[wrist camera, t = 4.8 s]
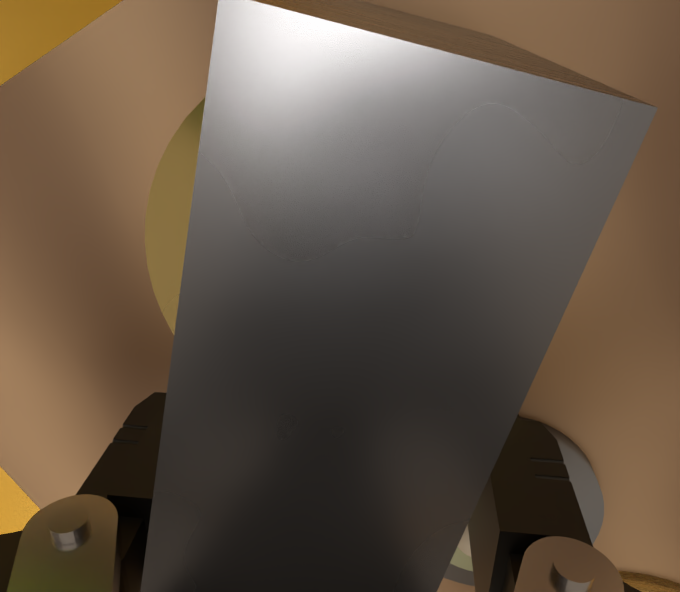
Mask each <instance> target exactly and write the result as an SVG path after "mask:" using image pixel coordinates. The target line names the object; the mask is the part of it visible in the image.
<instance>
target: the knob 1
mask: <svg viewBox="0 0 680 592" xmlns="http://www.w3.org/2000/svg"><path fill="white" fill-rule="evenodd" d="M657 109H658V107H655V106H653V105H651V104H649V103H646V102H644V101H642V100H639V99H637V98H635V97H632V96H630V95H628V94H626V93H623V92H621V91H619V90H616V89H614V88H612V87H610V86H607V85H605V84H603V83H600V82H598V81H596V80H593V79H591V78H589V77H587V76H584V75H582V74H580V73H577V72H575V71H573V70H570V69H568V68H566V67H564V66H561V65H559V64H557V63H554V62H552V61H550V60H548V59H545V58H543V57H541V56H538V55H536V54H534V53H531V52H529V51H527V50H525V49H522V48H520V47H518V46H515V45H513V44H511V43H508V42H506V41H504V40H502V39H499V38H497V37H495V36H492V35H489V34H485V33H481V32H478V31H474V30H470V29H466V28H463V27H459V26H455V25H451V24H447V23H444V22H440V21H436V20H432V19H429V18H425V17H421V16H417V15H413V14H410V13H406V12H402V11H398V10H395V9H391V8H387V7H383V6H379V5H376V4H372V3H368V2H364V1H361V0H218V6H217V14H216V21H215V29H214V36H213V44H212V52H211V59H210V67H209V74H208V82H207V89H206V97H205V98H204V99H203V100H202V101H201V102H200V103H199V104H198V105H197V106H196V107H195V108H194V109H193V111H192V112H191V113H190V114H189V115H188V116H187V117H186V118H185V120H184V121H183V122H182V124H181V125H180V127H179V128H178V130H177V131H176V133H175V134H174V136H173V137H172V138H171V140H170V142H169V144H168V146H167V148H166V150H165V152H164V154H163V156H162V158H161V160H160V162H159V164H158V167H157V170H156V173H155V176H154V179H153V182H152V185H151V188H150V192H149V198H148V204H147V210H146V216H145V248H146V258H147V267H148V271H149V275H150V279H151V283H152V287H153V291H154V294H155V296H156V299H157V301H158V304H159V306H160V309H161V312H162V314H163V316H164V318H165V320H166V321H167V323H168V325H169V327H170V329H171V331H172V333H173V335H174V340H173V348H172V355H171V363H170V370H169V378H168V385H167V393H166V401H165V408H164V416H163V423H162V431H161V439H160V446H159V454H158V461H157V469H156V477H155V484H154V492H153V499H152V507H151V514H150V522H149V530H148V537H147V545H146V552H145V560H144V568H143V575H142V583H141V590H140V592H437V590H438V588H439V586H440V584H441V581H442V579H443V577H444V575H445V573H446V570H447V568H448V566H449V564H450V562H451V560H452V557H453V555H454V553H455V551H456V549H457V546H458V544H459V542H460V540H461V538H462V535H463V533H464V531H465V529H466V527H467V525H468V522H469V520H470V518H471V516H472V514H473V511H474V509H475V507H476V505H477V503H478V500H479V498H480V496H481V494H482V492H483V490H484V487H485V485H486V483H487V481H488V479H489V476H490V474H491V472H492V470H493V468H494V465H495V463H496V461H497V459H498V457H499V455H500V452H501V450H502V448H503V446H504V444H505V441H506V439H507V437H508V435H509V433H510V430H511V428H512V426H513V424H514V422H515V420H516V417H517V415H518V413H519V411H520V409H521V406H522V404H523V402H524V400H525V398H526V395H527V393H528V391H529V389H530V387H531V385H532V382H533V380H534V378H535V376H536V374H537V371H538V369H539V367H540V365H541V363H542V360H543V358H544V356H545V354H546V352H547V350H548V347H549V345H550V343H551V341H552V339H553V336H554V334H555V332H556V330H557V328H558V325H559V323H560V321H561V319H562V317H563V315H564V312H565V310H566V308H567V306H568V304H569V301H570V299H571V297H572V295H573V293H574V290H575V288H576V286H577V284H578V282H579V280H580V277H581V275H582V273H583V271H584V269H585V266H586V264H587V262H588V260H589V258H590V255H591V253H592V251H593V249H594V247H595V245H596V242H597V240H598V238H599V236H600V234H601V231H602V229H603V227H604V225H605V223H606V220H607V218H608V216H609V214H610V212H611V210H612V207H613V205H614V203H615V201H616V199H617V196H618V194H619V192H620V190H621V188H622V185H623V183H624V181H625V179H626V177H627V175H628V172H629V170H630V168H631V166H632V164H633V161H634V159H635V157H636V155H637V153H638V150H639V148H640V146H641V144H642V142H643V140H644V137H645V135H646V133H647V131H648V129H649V126H650V124H651V122H652V120H653V118H654V115H655V113H656V111H657Z"/></svg>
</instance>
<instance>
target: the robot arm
mask: <svg viewBox="0 0 680 592" xmlns="http://www.w3.org/2000/svg"><path fill="white" fill-rule="evenodd" d="M165 401H166V393H163V392H154V393H153V394H151V395H150V396H149V397H147V398H146V399H144V400H143V401H142V402H140V403H139V404H137V405H136V406H135V407H134V408H133V410H132V411H131V413H130V414H129V416H128V417H127V419H126V420H125V422H124V423H123V427H122V428H120V429H119V431H118V432H117V434H116V435H115V437H114V438H113V442H112V443H110V444H109V446H108V447H107V449H106V450H105V452H104V453H103V455H102V456H101V458H100V459H99V461H98V462H97V464H96V465H95V467H94V468H93V470H92V471H91V473H90V474H89V476H88V477H87V478H86V480H85V481H84V483H83V484H82V486H81V487H80V489H79V490H78V492H77V493H76V495H74V496H69V497H66V498H63V499H60V500H57V501H55V502H53V503H51V504H49V505H47V506H46V507H44V508H43V509H41V510H40V511H38V512H37V513H36V514H35V515H34V516H33V517H32V518H31V519H30V520H29V521H28V523H27V524H26V526H25V527H24V529H23V530H22V531H18V532H13V533H8V534H2V535H0V592H140V590H141V583H142V575H143V568H144V560H145V552H146V545H147V537H148V530H149V522H150V514H151V507H152V499H153V492H154V484H155V477H156V469H157V461H158V454H159V446H160V439H161V431H162V423H163V416H164V408H165ZM569 478H570V477H569V474H568V471H567V468H566V465H565V464H564V459H563V456H562V453H561V450H560V447H559V444H558V441H557V439H556V438H555V437H554V436H553V435H552V434H551V433H550V432H549V431H548V430H547V429H546V428H545V426H544V425H543V424H542V423H541V422H540V421H527V420H520V418H519V414H518V415H517V417H516V420H515V422H514V424H513V426H512V428H511V430H510V433H509V435H508V437H507V439H506V441H505V444H504V446H503V448H502V450H501V452H500V455H499V457H498V459H497V461H496V463H495V465H494V468H493V470H492V472H491V474H490V476H489V479H488V481H487V483H486V485H485V487H484V490H483V492H482V494H481V496H480V498H479V500H478V503H477V505H476V507H475V509H474V511H473V514H472V516H471V518H470V520H469V522H468V531H469V540H470V549H471V558H472V566H473V575H474V584H475V592H642V591H639V590H637V589H635V588H634V587H632V586H630V585H628V584H627V583H625V582H624V581H622V578H621V576H620V574H619V572H618V570H617V569H616V567H615V566H614V564H613V563H612V562H611V561H610V560H609V559H608V558H607V557H606V556H605V555H604V554H602V553H601V552H600V551H598V550H597V549H595V548H594V547H593V545H592V542H591V539H590V536H589V533H588V530H587V527H586V524H585V521H584V518H583V515H582V512H581V509H580V506H579V503H578V501H577V498H576V495H575V492H574V489H573V486H572V483H571V481H569Z"/></svg>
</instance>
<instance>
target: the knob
mask: <svg viewBox="0 0 680 592" xmlns="http://www.w3.org/2000/svg"><path fill="white" fill-rule="evenodd" d="M618 572H619V574H620V576H621V578H622V581H624V582H625V583H627V584H628V585H630V586H632V587H634V588H635V589H637V590H639V591H642V592H680V584H679V583H676V582H673V581H670V580H667V579H664V578H660V577H656V576H652V575H647V574H642V573H634V572H627V571H618Z"/></svg>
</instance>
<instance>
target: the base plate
mask: <svg viewBox="0 0 680 592" xmlns="http://www.w3.org/2000/svg"><path fill="white" fill-rule="evenodd" d="M361 1H364V2H368V3H372V4H376V5H379V6H383V7H387V8H391V9H395V10H398V11H402V12H406V13H410V14H413V15H417V16H421V17H425V18H429V19H432V20H436V21H440V22H444V23H447V24H451V25H455V26H459V27H463V28H466V29H470V30H474V31H478V32H481V33H485V34H489V35H492V36H495V37H497V38H499V39H502V40H504V41H506V42H508V43H511V44H513V45H515V46H518V47H520V48H522V49H525V50H527V51H529V52H531V53H534V54H536V55H538V56H541V57H543V58H545V59H548V60H550V61H552V62H554V63H557V64H559V65H561V66H564V67H566V68H568V69H570V70H573V71H575V72H577V73H580V74H582V75H584V76H587V77H589V78H591V79H593V80H596V81H598V82H600V83H603V84H605V85H607V86H610V87H612V88H614V89H616V90H619V91H621V92H623V93H626V94H628V95H630V96H632V97H635V98H637V99H639V100H642V101H644V102H646V103H649V104H651V105H653V106H655V107H658V109H657V111H656V113H655V115H654V118H653V120H652V122H651V124H650V126H649V129H648V131H647V133H646V135H645V137H644V140H643V142H642V144H641V146H640V148H639V150H638V153H637V155H636V157H635V159H634V161H633V164H632V166H631V168H630V170H629V172H628V175H627V177H626V179H625V181H624V183H623V185H622V188H621V190H620V192H619V194H618V196H617V199H616V201H615V203H614V205H613V207H612V210H611V212H610V214H609V216H608V218H607V220H606V223H605V225H604V227H603V229H602V231H601V234H600V236H599V238H598V240H597V242H596V245H595V247H594V249H593V251H592V253H591V255H590V258H589V260H588V262H587V264H586V266H585V269H584V271H583V273H582V275H581V277H580V280H579V282H578V284H577V286H576V288H575V290H574V293H573V295H572V297H571V299H570V301H569V304H568V306H567V308H566V310H565V312H564V315H563V317H562V319H561V321H560V323H559V325H558V328H557V330H556V332H555V334H554V336H553V339H552V341H551V343H550V345H549V347H548V350H547V352H546V354H545V356H544V358H543V360H542V363H541V365H540V367H539V369H538V371H537V374H536V376H535V378H534V380H533V382H532V385H531V387H530V389H529V391H528V393H527V395H526V398H525V400H524V402H523V404H522V406H521V409H520V411H519V413H518V414H519V418H520V420H527V421H540V422H541V423H542V424H543V425H544V426H545V428H546V429H547V430H548V431H549V432H550V433H551V434H552V435H553V436H554V437H555V438H556V439H557V441H558V444H559V447H560V450H561V453H562V456H563V459H564V464H565V465H566V468H567V471H568V474H569V477H570V478H569V481H571V483H572V486H573V489H574V492H575V495H576V498H577V501H578V503H579V506H580V509H581V512H582V515H583V518H584V521H585V524H586V527H587V530H588V533H589V536H590V539H591V542H592V545H593V547H594V548H595V549H597V550H598V551H600V552H601V553H602V554H604V555H605V556H606V557H607V558H608V559H609V560H610V561H611V562H612V563H613V564H614V566H615V567H616V569H617V570H618V571H627V572H634V573H642V574H647V575H652V576H656V577H660V578H664V579H667V580H670V581H673V582H676V583H679V584H680V0H361ZM217 6H218V0H123V1H121V2H120V3H119V4H117V5H116V6H114V7H113V8H111V9H110V10H109V11H107V12H106V13H104V14H103V15H101V16H100V17H98V18H97V19H96V20H94V21H93V22H91V23H90V24H88V25H87V26H86V27H84V28H83V29H81V30H80V31H78V32H77V33H75V34H74V35H73V36H71V37H70V38H68V39H67V40H65V41H64V42H63V43H61V44H60V45H58V46H57V47H55V48H54V49H52V50H51V51H50V52H48V53H47V54H45V55H44V56H42V57H41V58H40V59H38V60H37V61H35V62H34V63H32V64H31V65H29V66H28V67H27V68H25V69H24V70H22V71H21V72H19V73H18V74H17V75H15V76H14V77H12V78H11V79H9V80H8V81H6V82H5V83H4V84H2V85H1V86H0V466H1V467H2V469H3V470H4V471H5V472H6V473H7V474H8V475H9V476H10V477H11V478H12V479H13V480H14V481H15V482H16V484H17V485H18V486H19V487H20V488H21V489H22V490H23V491H24V492H25V493H26V494H27V495H28V496H29V498H30V499H31V500H32V501H33V502H34V503H35V504H36V505H37V506H38V507H39V508H40V509H43V508H44V507H46V506H47V505H49V504H51V503H53V502H55V501H57V500H60V499H63V498H66V497H69V496H74V495H76V493H77V492H78V490H79V489H80V487H81V486H82V484H83V483H84V481H85V480H86V478H87V477H88V476H89V474H90V473H91V471H92V470H93V468H94V467H95V465H96V464H97V462H98V461H99V459H100V458H101V456H102V455H103V453H104V452H105V450H106V449H107V447H108V446H109V444H110V443H112V442H113V438H114V437H115V435H116V434H117V432H118V431H119V429H120V428H122V427H123V423H124V422H125V420H126V419H127V417H128V416H129V414H130V413H131V411H132V410H133V408H134V407H135V406H136V405H137V404H139V403H140V402H142V401H143V400H144V399H146V398H147V397H149V396H150V395H151V394H153V393H154V392H163V393H167V385H168V378H169V370H170V363H171V355H172V348H173V340H174V335H173V333H172V331H171V329H170V327H169V325H168V323H167V321H166V320H165V318H164V316H163V314H162V312H161V309H160V306H159V304H158V301H157V299H156V296H155V294H154V291H153V287H152V283H151V279H150V275H149V271H148V267H147V258H146V248H145V216H146V210H147V204H148V198H149V192H150V188H151V185H152V182H153V179H154V176H155V173H156V170H157V167H158V164H159V162H160V160H161V158H162V156H163V154H164V152H165V150H166V148H167V146H168V144H169V142H170V140H171V138H172V137H173V136H174V134H175V133H176V131H177V130H178V128H179V127H180V125H181V124H182V122H183V121H184V120H185V118H186V117H187V116H188V115H189V114H190V113H191V112H192V111H193V109H194V108H195V107H196V106H197V105H198V104H199V103H200V102H201V101H202V100H203V99H204V98H205V97H206V89H207V82H208V74H209V67H210V59H211V52H212V44H213V36H214V29H215V21H216V14H217ZM437 592H475V584H474V575H473V566H472V558H471V549H470V540H469V531H468V525H467V527H466V529H465V531H464V533H463V535H462V538H461V540H460V542H459V544H458V546H457V549H456V551H455V553H454V555H453V557H452V560H451V562H450V564H449V566H448V568H447V570H446V573H445V575H444V577H443V579H442V581H441V584H440V586H439V588H438V590H437Z"/></svg>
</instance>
